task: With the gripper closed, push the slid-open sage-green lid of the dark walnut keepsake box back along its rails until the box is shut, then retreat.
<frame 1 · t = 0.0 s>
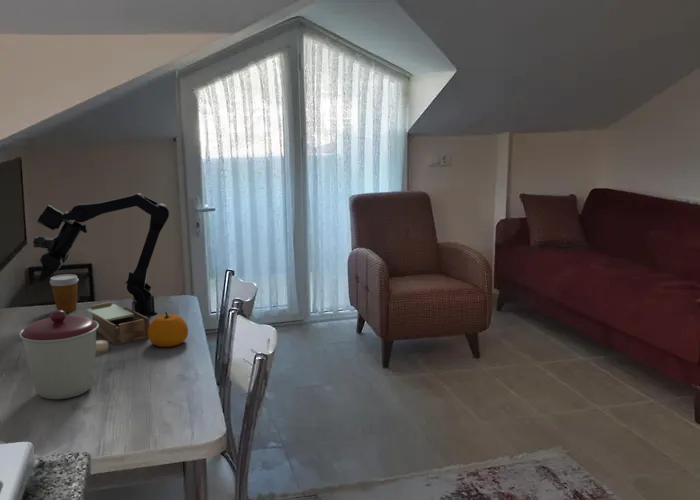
hand: (43, 277, 226), 15 cm above the table, tool tilted 35°, fingers open, 9 cm apart
walnut box: (121, 334, 214), on the table
lid: (110, 310, 219), point 6 cm above the table, slide at 8.0 cm
fruit: (168, 344, 205), on the table
disposable coffee cup: (66, 310, 242), on the table
tape roll: (99, 350, 200), on the table
canister: (65, 392, 170), on the table
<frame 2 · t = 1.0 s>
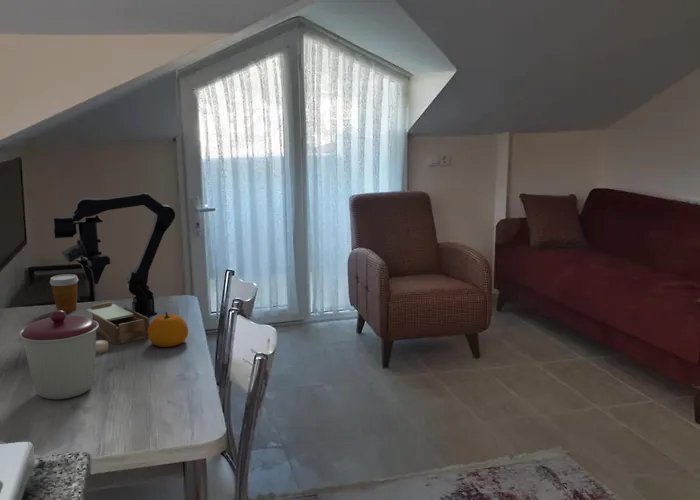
hand: (92, 282, 227), 13 cm above the table, tool pointing down, fingers open, 6 cm apart
nothing on the table moved.
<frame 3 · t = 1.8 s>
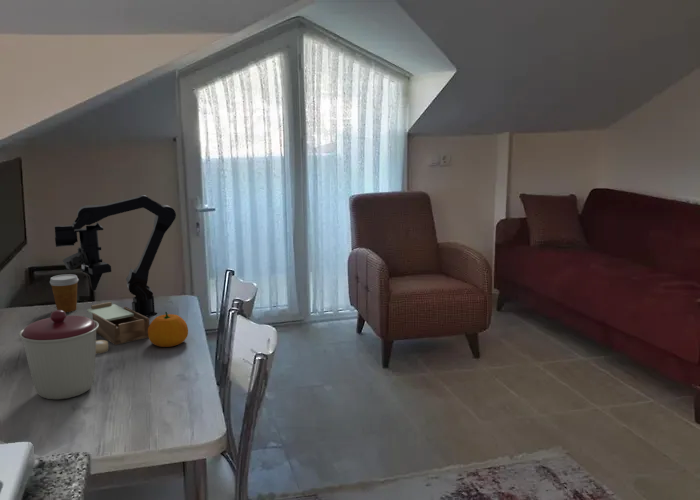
hand: (93, 290, 228), 10 cm above the table, tool pointing down, fingers closed
nothing on the table moved.
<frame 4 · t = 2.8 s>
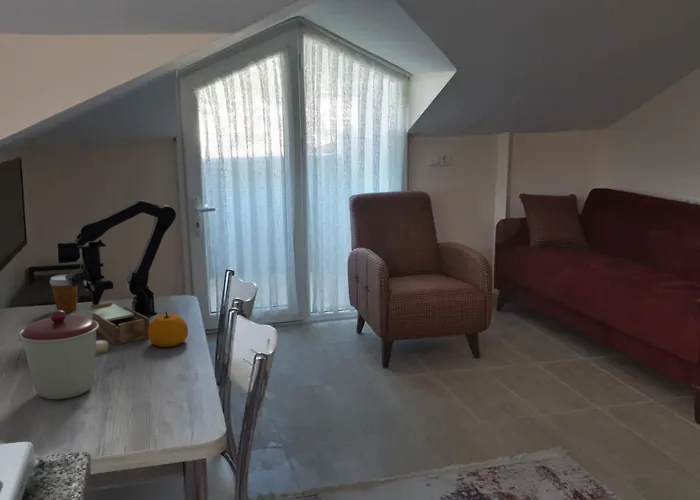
hand: (95, 306, 228), 5 cm above the table, tool pointing down, fingers closed
nothing on the table moved.
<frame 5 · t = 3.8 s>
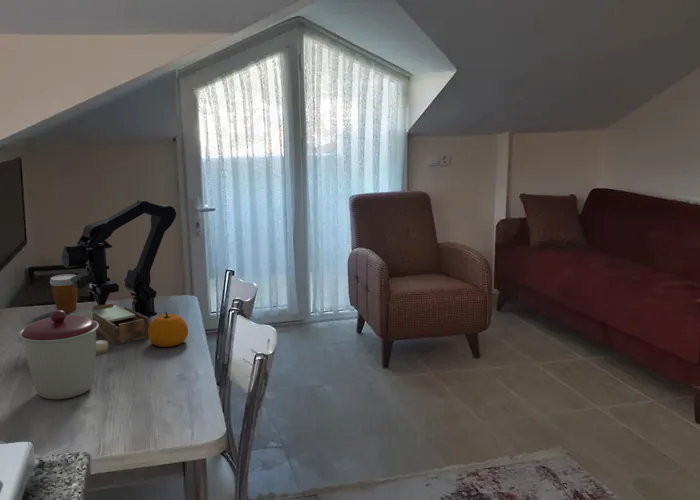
hand: (101, 309, 224), 5 cm above the table, tool pointing down, fingers closed
lid: (111, 311, 218), point 6 cm above the table, slide at 6.6 cm, touching gripper
everything else where it was.
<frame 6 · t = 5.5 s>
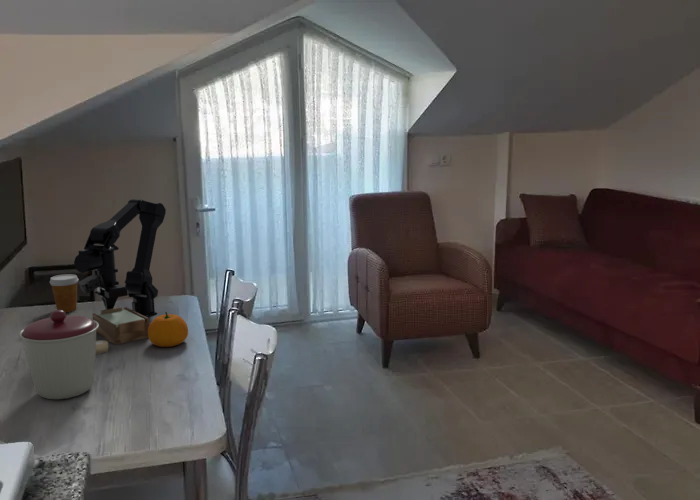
hand: (109, 313, 219), 5 cm above the table, tool pointing down, fingers closed
lid: (120, 316, 213), point 6 cm above the table, slide at 0.0 cm, touching gripper
everything else where it was.
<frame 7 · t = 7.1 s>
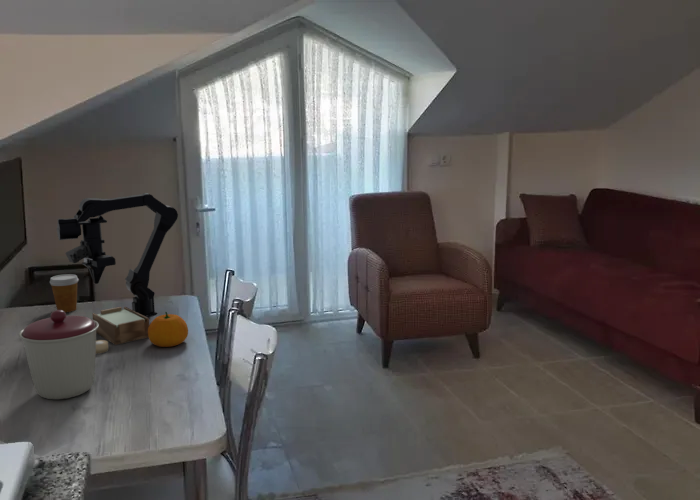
hand: (96, 283, 225), 13 cm above the table, tool pointing down, fingers closed
lid: (120, 316, 213), point 6 cm above the table, slide at 0.0 cm
everything else where it was.
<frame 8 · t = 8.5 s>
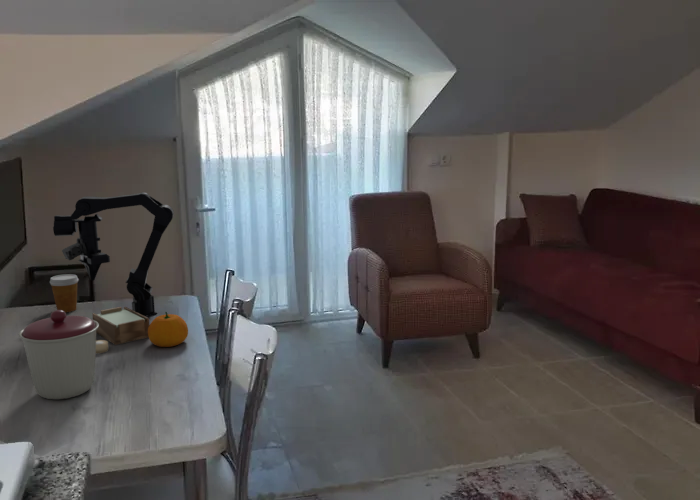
hand: (92, 280, 230), 13 cm above the table, tool pointing down, fingers closed
nothing on the table moved.
at the end: lid slide at 0.0 cm; lid touching nothing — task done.
